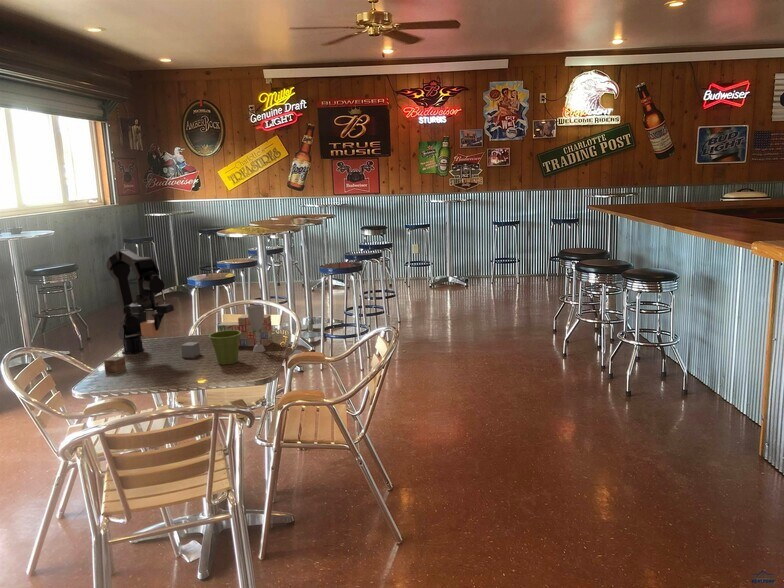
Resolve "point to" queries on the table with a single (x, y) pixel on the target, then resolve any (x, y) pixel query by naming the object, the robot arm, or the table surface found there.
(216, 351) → the plant pot
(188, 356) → the slate cube
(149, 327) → the terracotta cube
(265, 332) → the stack of blocks
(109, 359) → the walnut cube
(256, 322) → the chalice
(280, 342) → the table surface
